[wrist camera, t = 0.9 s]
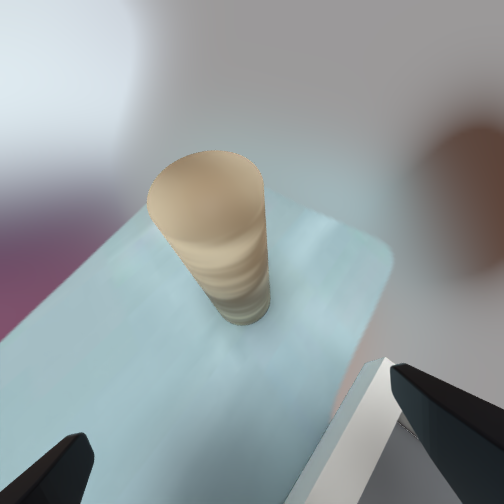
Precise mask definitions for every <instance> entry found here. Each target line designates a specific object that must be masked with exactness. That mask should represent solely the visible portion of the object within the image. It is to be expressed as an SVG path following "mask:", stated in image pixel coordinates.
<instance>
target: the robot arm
mask: <svg viewBox="0 0 504 504" xmlns="http://www.w3.org/2000/svg"><path fill="white" fill-rule="evenodd" d="M390 382H391V391H392V394H393V396H394V398H395V400H396V402H397V403H398V405H399V407H400V408H401V410H402V412H403V413H404V415H405V417H406V418H407V420H408V422H409V423H410V425H411V427H412V428H413V430H414V432H415V434H416V435H417V437H418V439H419V440H420V442H421V444H422V445H423V447H424V449H425V450H426V452H427V453H428V455H429V457H430V458H431V460H432V461H433V463H434V464H435V466H436V467H437V468H438V470H439V471H440V473H441V474H442V476H443V477H444V478H445V480H446V481H447V483H448V484H449V485H450V487H451V488H452V490H453V491H454V492H455V494H456V495H457V497H458V498H459V499H460V501H461V502H462V504H504V409H502V408H499V407H497V406H495V405H493V404H491V403H489V402H487V401H485V400H483V399H480V398H478V397H476V396H474V395H472V394H470V393H467V392H466V391H463V390H461V389H459V388H456V387H455V386H453V385H450V384H449V383H446V382H444V381H442V380H440V379H438V378H436V377H434V376H431V375H429V374H427V373H425V372H423V371H421V370H419V369H417V368H414V367H412V366H410V365H408V364H405V363H401V364H396V365H392V366H391V367H390ZM93 464H94V452H93V449H92V447H91V445H90V443H89V440H88V438H87V436H86V434H84V433H82V432H81V433H76V434H71V435H68V436H66V437H65V438H64V439H62V440H61V441H60V442H59V443H58V444H57V445H55V446H54V447H53V448H52V449H51V450H49V451H48V452H47V453H46V454H45V455H44V456H42V457H41V458H40V459H39V460H38V461H36V462H35V463H34V464H33V465H32V466H30V467H29V468H28V469H27V470H26V471H25V472H23V473H22V474H21V475H20V476H19V477H17V478H16V479H15V480H14V481H13V482H12V483H10V484H9V485H8V486H7V487H6V488H4V489H3V490H2V491H1V492H0V504H80V503H81V500H82V497H83V494H84V491H85V488H86V485H87V482H88V479H89V476H90V473H91V470H92V467H93Z"/></svg>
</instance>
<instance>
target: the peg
mask: <svg viewBox="0 0 504 504" xmlns="http://www.w3.org/2000/svg"><path fill="white" fill-rule="evenodd" d="M147 209H148V212H149V215H150V217H151V219H152V220H153V222H154V223H155V225H156V226H157V227H158V229H159V230H160V231H161V233H162V234H163V236H164V237H165V238H166V240H167V241H168V242H169V244H170V245H171V247H172V248H173V249H174V251H175V252H176V253H177V255H178V256H179V258H180V259H181V260H182V262H183V263H184V265H185V266H186V267H187V269H188V270H189V271H190V273H191V274H192V276H193V277H194V278H195V280H196V281H197V282H198V284H199V285H200V287H201V288H202V289H203V291H204V292H205V293H206V295H207V296H208V298H209V299H210V300H211V302H212V303H213V304H214V306H215V307H216V309H217V310H218V311H219V313H220V314H221V315H222V317H223V318H224V319H225V320H227V321H228V322H230V323H232V324H235V325H249V324H253V323H255V322H257V321H258V320H259V319H261V318H262V317H263V316H264V315H265V313H266V312H267V310H268V307H269V304H270V285H269V268H268V252H267V235H266V218H265V201H264V184H263V178H262V176H261V173H260V171H259V170H258V168H257V167H256V166H255V165H254V164H253V163H252V162H251V161H250V160H248V159H247V158H245V157H243V156H241V155H239V154H236V153H232V152H227V151H203V152H198V153H194V154H191V155H188V156H186V157H183V158H181V159H179V160H177V161H175V162H174V163H172V164H170V165H169V166H168V167H166V168H165V169H164V170H163V171H162V172H161V173H160V174H159V175H158V176H157V177H156V179H155V180H154V182H153V184H152V185H151V187H150V189H149V192H148V196H147Z"/></svg>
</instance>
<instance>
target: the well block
mask: <svg viewBox="0 0 504 504" xmlns="http://www.w3.org/2000/svg"><path fill="white" fill-rule="evenodd" d="M392 365H396V364H394V363H393V362H391V361H390V360H388V359H387V358H386V357H384V358H380V359H377V360H374V361H370V362H367V363H365V364H364V366H363V368H362V369H361V371H360V373H359V374H358V376H357V378H356V380H355V381H354V383H353V385H352V387H351V388H350V390H349V392H348V394H347V395H346V397H345V399H344V400H343V402H342V404H341V406H340V407H339V409H338V411H337V412H336V414H335V416H334V418H333V419H332V421H331V423H330V424H329V426H328V428H327V430H326V431H325V433H324V435H323V437H322V438H321V440H320V442H319V443H318V445H317V447H316V449H315V450H314V452H313V454H312V456H311V457H310V459H309V461H308V462H307V464H306V466H305V468H304V469H303V471H302V473H301V475H300V476H299V478H298V480H297V481H296V483H295V485H294V487H293V488H292V490H291V492H290V494H289V495H288V497H287V499H286V500H285V502H284V504H462V502H461V501H460V499H459V498H458V497H457V495H456V494H455V492H454V491H453V490H452V488H451V487H450V485H449V484H448V483H447V481H446V480H445V478H444V477H443V476H442V474H441V473H440V471H439V470H438V468H437V467H436V466H435V464H434V463H433V461H432V460H431V458H430V457H429V455H428V453H427V452H426V450H425V449H424V447H423V445H422V444H421V442H420V440H419V439H417V438H418V437H417V435H416V434H415V432H414V430H413V428H412V427H411V425H410V423H409V422H408V420H407V418H406V417H405V415H404V413H403V412H402V410H401V408H400V407H399V405H398V403H397V402H396V400H395V398H394V396H393V394H392V391H391V382H390V367H391V366H392ZM397 422H398V423H397ZM399 423H400V424H401V425H402V426H403V427H402V426H401V425H400V424H399ZM404 427H405V428H406V429H407V430H408V431H407V430H406V429H405V428H404ZM409 431H410V432H411V433H412V434H413V435H412V434H411V433H410V432H409ZM414 435H415V436H416V437H417V438H416V437H415V436H414Z"/></svg>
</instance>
